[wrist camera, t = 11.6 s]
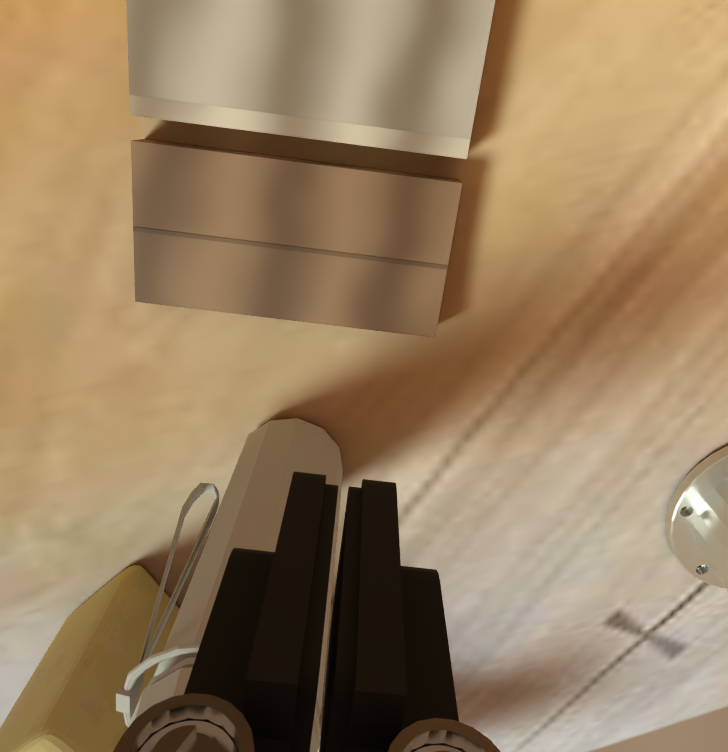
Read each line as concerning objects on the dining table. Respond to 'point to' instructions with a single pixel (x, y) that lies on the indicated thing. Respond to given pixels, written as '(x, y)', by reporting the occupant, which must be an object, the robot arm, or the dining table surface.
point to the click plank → (314, 68)
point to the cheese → (89, 671)
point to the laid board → (290, 237)
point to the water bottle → (230, 530)
